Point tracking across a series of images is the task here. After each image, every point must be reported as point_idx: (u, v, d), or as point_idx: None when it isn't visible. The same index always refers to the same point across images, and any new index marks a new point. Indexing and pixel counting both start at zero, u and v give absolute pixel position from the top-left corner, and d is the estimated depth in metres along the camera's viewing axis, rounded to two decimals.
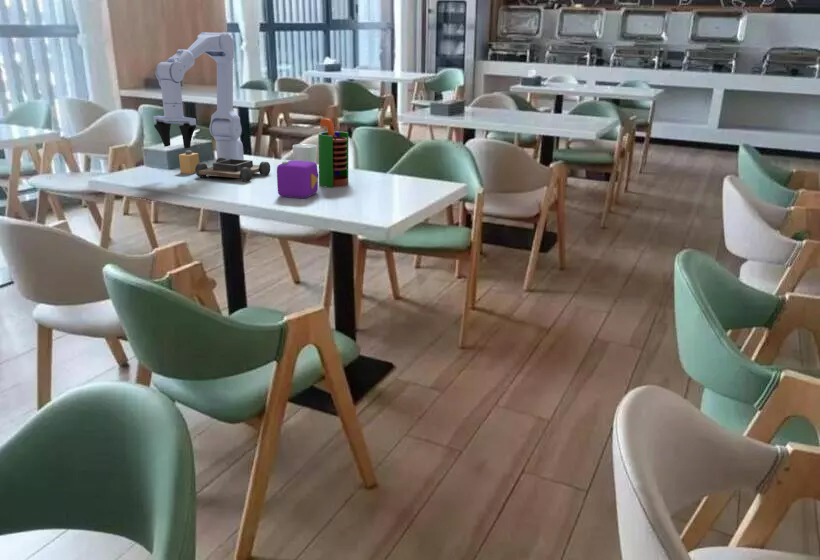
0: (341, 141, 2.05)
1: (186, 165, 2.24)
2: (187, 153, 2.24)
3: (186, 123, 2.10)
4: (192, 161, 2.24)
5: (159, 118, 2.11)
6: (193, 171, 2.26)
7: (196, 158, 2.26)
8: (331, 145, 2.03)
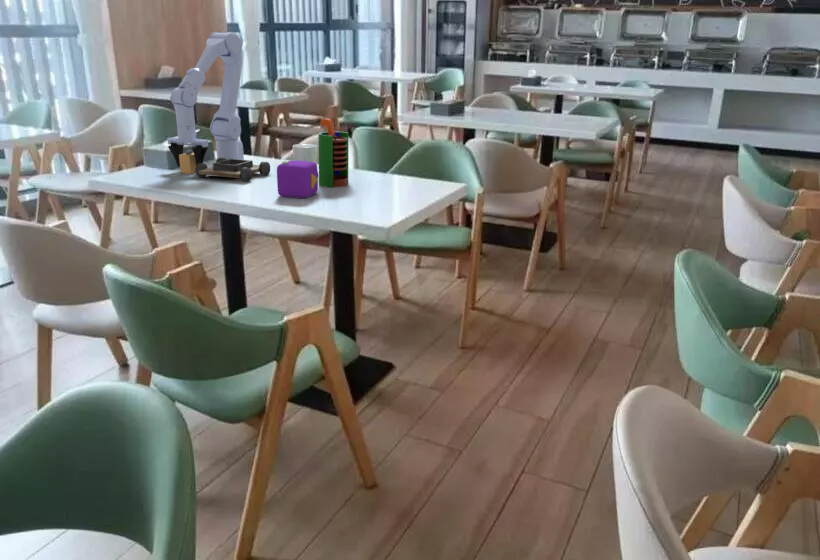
0: (341, 141, 2.05)
1: (186, 165, 2.24)
2: (187, 153, 2.24)
3: (198, 145, 2.22)
4: (192, 161, 2.24)
5: (173, 140, 2.24)
6: (193, 171, 2.26)
7: None
8: (331, 145, 2.03)
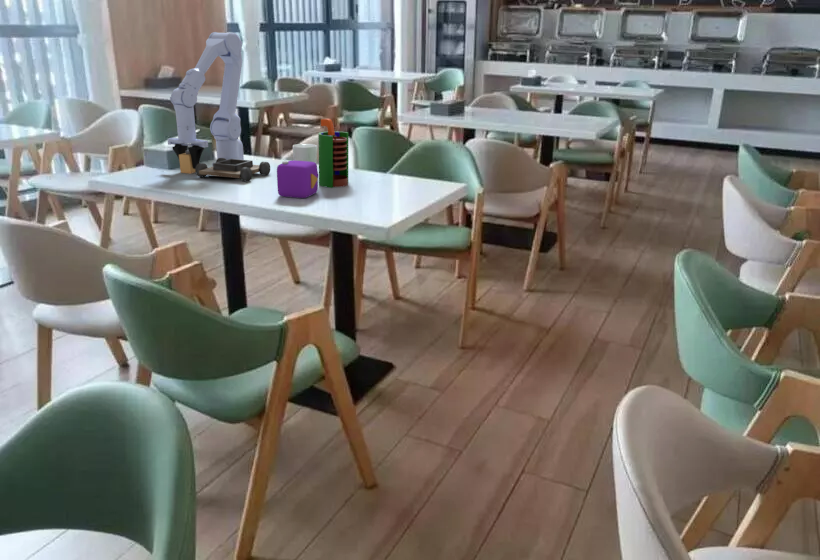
0: (341, 141, 2.05)
1: (186, 165, 2.24)
2: (187, 153, 2.24)
3: (199, 145, 2.22)
4: None
5: (173, 140, 2.24)
6: (193, 171, 2.26)
7: None
8: (331, 145, 2.03)
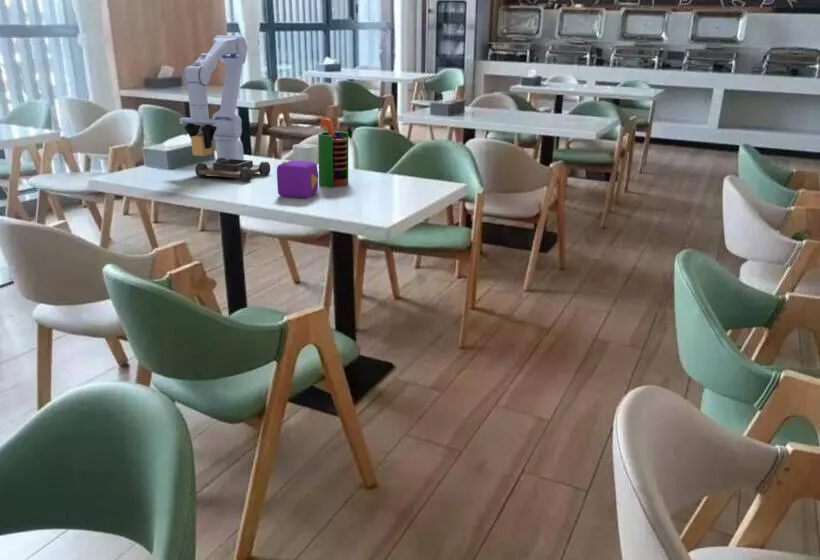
0: (341, 141, 2.05)
1: (198, 147, 2.20)
2: (199, 135, 2.20)
3: (211, 125, 2.18)
4: (204, 143, 2.20)
5: (185, 120, 2.19)
6: (205, 153, 2.21)
7: None
8: (331, 145, 2.03)
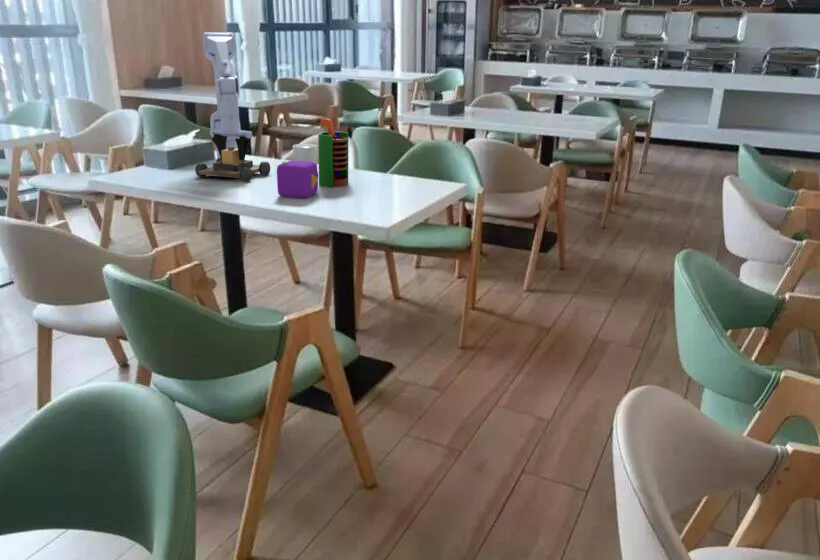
0: (341, 141, 2.05)
1: (228, 162, 2.17)
2: (230, 149, 2.17)
3: (243, 136, 2.15)
4: (235, 157, 2.18)
5: (216, 131, 2.17)
6: None
7: None
8: (331, 145, 2.03)
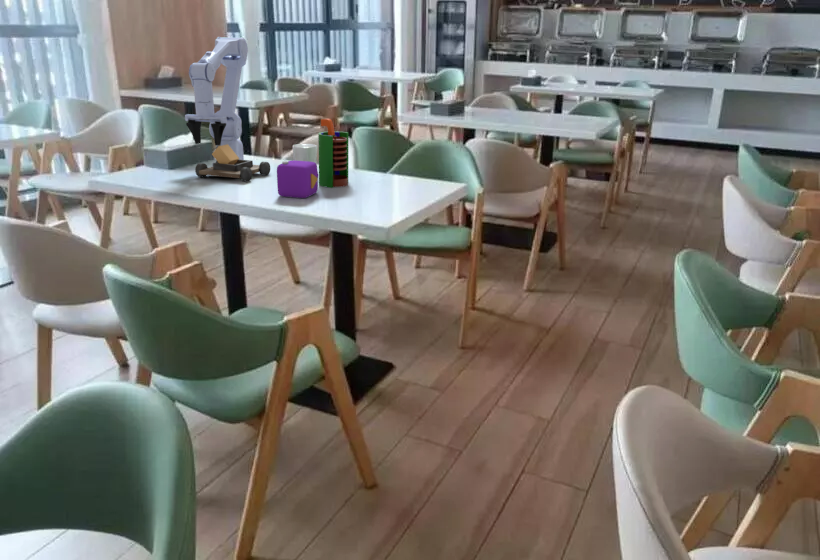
0: (341, 141, 2.05)
1: (223, 157, 2.18)
2: (217, 148, 2.19)
3: (217, 121, 2.19)
4: (225, 151, 2.18)
5: (191, 116, 2.20)
6: (232, 158, 2.18)
7: (228, 148, 2.20)
8: (331, 145, 2.03)
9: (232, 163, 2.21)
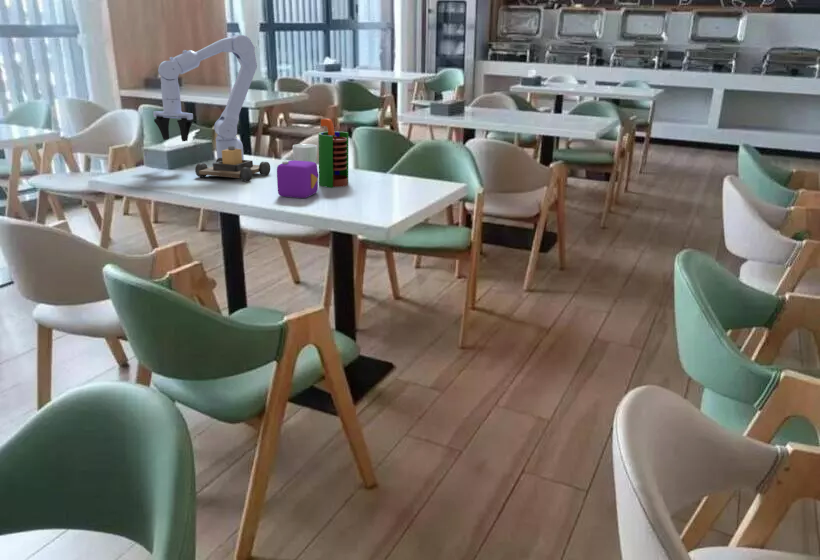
0: (341, 141, 2.05)
1: (229, 162, 2.17)
2: (230, 149, 2.17)
3: (184, 118, 2.25)
4: (235, 158, 2.18)
5: (159, 113, 2.27)
6: None
7: (239, 154, 2.19)
8: (331, 145, 2.03)
9: None
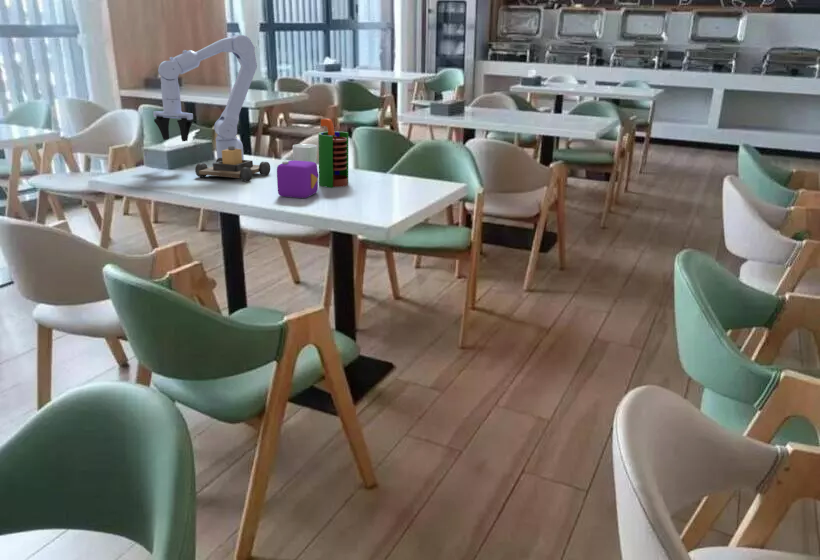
0: (341, 141, 2.05)
1: (229, 162, 2.17)
2: (230, 149, 2.17)
3: (184, 118, 2.25)
4: (235, 158, 2.18)
5: (159, 113, 2.27)
6: None
7: (239, 154, 2.19)
8: (331, 145, 2.03)
9: None
